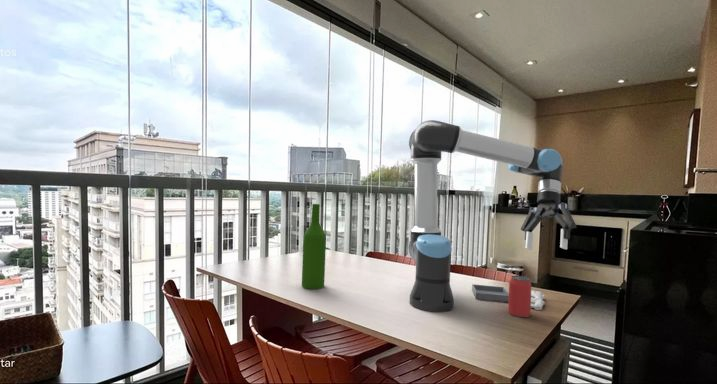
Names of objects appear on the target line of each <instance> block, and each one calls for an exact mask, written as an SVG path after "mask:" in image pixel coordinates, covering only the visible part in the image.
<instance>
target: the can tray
mask: <svg viewBox="0 0 717 384" xmlns="http://www.w3.org/2000/svg"><path fill="white" fill-rule="evenodd" d="M471 292H472V295H473V296H474V298H475V300H477V301H486V302H487V301H488V302H498V303H507V304H509V291H508V290H507V289H506V288H505V287H504V286H496V285H495V286H494V285H483V284H473V283H472V284H471Z"/></svg>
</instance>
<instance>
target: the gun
mask: <svg viewBox="0 0 717 384" xmlns="http://www.w3.org/2000/svg"><path fill="white" fill-rule="evenodd" d="M544 298H545V294H543V292H542V291H539V290H538V291H537V290H536V291H535V290H534V289H533V290H532V289H531V309H534V311H542V310H543V306H544V305H545V302H546V301H544Z"/></svg>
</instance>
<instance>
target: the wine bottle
mask: <svg viewBox="0 0 717 384" xmlns="http://www.w3.org/2000/svg"><path fill="white" fill-rule="evenodd" d="M320 208H321V205H320V204H319V203H312V204H311V223H310V224H309V226H308V227H307V229H306V230H305V231H304V235H303V237H302V238H303V240H302V241H303V243H302V262H301V263H302V265H301V266H302V267H301V270H302V271H301V286H302V288H304V289H307V290H319V289H322V288H324V287H325V279H326V278H325V277H326V276H325V275H326V272H325V271H326V251H327V250H326V249H327V248H326V245H327V237H326V236H327V235H326V233H325V231H324V229H323V227H322V226H321V224H320V212H321V211H320V210H321V209H320Z"/></svg>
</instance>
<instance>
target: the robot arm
mask: <svg viewBox="0 0 717 384" xmlns="http://www.w3.org/2000/svg"><path fill="white" fill-rule="evenodd" d="M408 146H409V150H410V162H412V163H413V164H414V226H412V228H411V229H410V241H409V243H408V253H409V255H410V257H411V258H412V260H413V261H414V262H415V281H414V283H413V286H412V289H411V291H410V294H409V304H410V306H411V307H414V308H416V309H420V310H423V311H428V312H440V313H441V312H447V311H448V312H449V311H452V310H453V309H454V308H455V298H454V295H453V291H452V287H451V259H452V257H451V256H452V255H451V254H452V249H453V248H452V243H451V240H450V239H449V238H448V237H446V236H444V235H443V236H442V230H441V229H440V228H439V227H438V164H440V162H441V161H442V153H450V154H454V153H455V152H457V153H461V154H466V155H469V156H474V157H477V158H483V159H486V160H490V161H494V162H499V163H504V164H506V165H507V169H508V170H509V171H511V172H515V173H516V174H517V173H518V174H522V175H528V176H531V177H535V178H538V186H537V192H538V193H537V199H536V203H537V207H533V206H530V207H529V210H528V214H527V215H526V218H525V220H523V221H524V222H523V224H522V225H521V227H520V230H521V231H523V232H524V241H525V246H524V249H526V250H528V251H533V243H534V242H533V240H534V233H533V231H534V230H535V229H536V227H537V226H538V225H539V224H540V223H541V221H543V220H544V219H549V218H552V219H553V218H554V219H555V220H556V222H558V223H559V225H560V226H561V227H562V228H560V240H559V241H560V242H559V244H560V245H559V248H561V249H563V250H568V241H569V240H570V238H571V230H572V229H577V224H576V222H575V220H574V219H573V216H572V214H571V212H570V209H569V205H568V204H567V203H565V202H561V192H562V191H561V189H562V178H563V177H562V176H563V169H564V168H563V158H562V156H561V154H560V153H559V152H558V151H557V150H556V149H554V148H553V149H552V148H544V149H541V148H537V147H533V146H529V145H524V144H520V143H517V142H512V141H508V140H504V139H500V138H495V137H493V136H488V135H483V134H480V133H475V132H472V131H467V130H463V129H462V127H461V126H459V125H455V124H451V123H447V122H445V121H440V120H435V119H434V120H433V119H430V120H425V121H423V122H421V123H420V124H419V125H418V126H417V127H416V128H415V129H414V130H413V131H412V132H411V134H410V136H409V140H408ZM559 210H561V212H562V214H563V216H562V215H561V214H560V213H559ZM563 217H564V218H563Z"/></svg>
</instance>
